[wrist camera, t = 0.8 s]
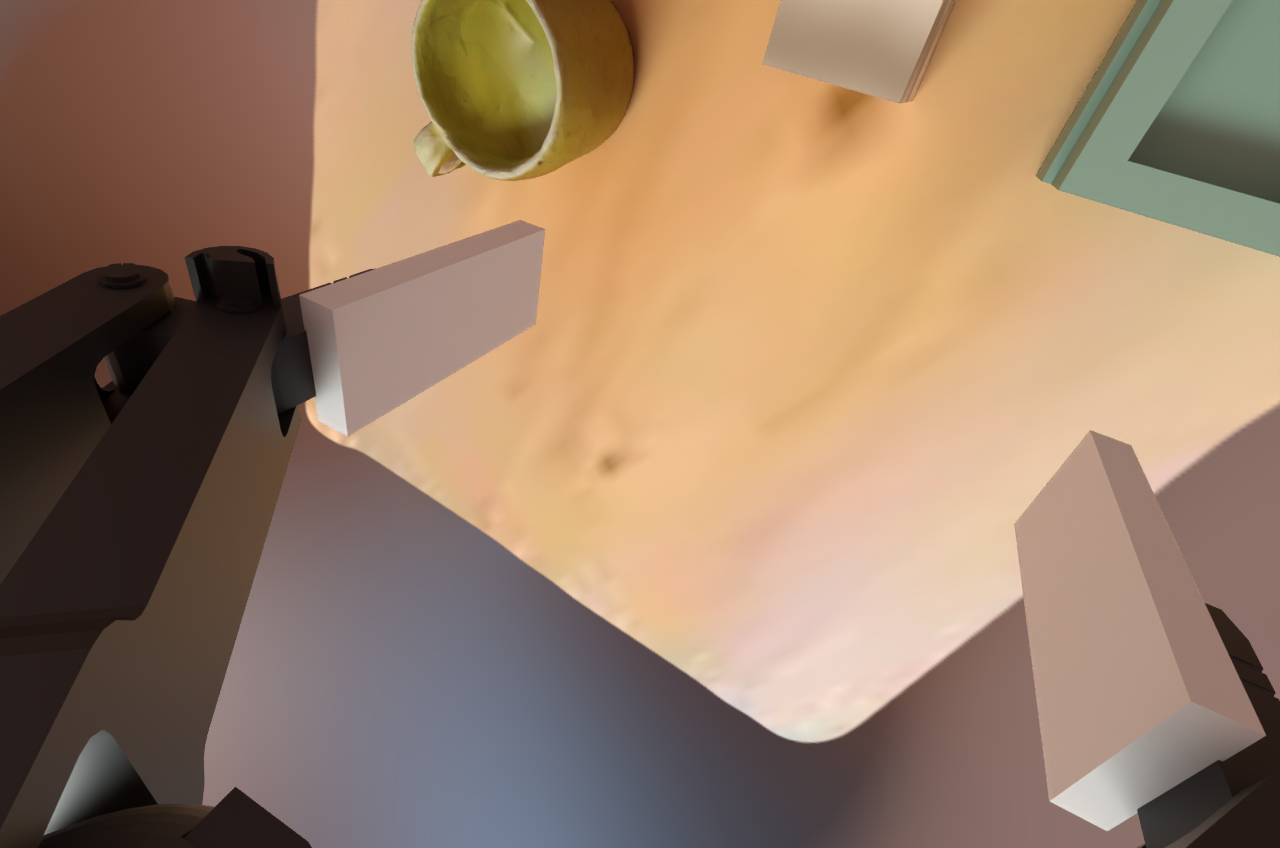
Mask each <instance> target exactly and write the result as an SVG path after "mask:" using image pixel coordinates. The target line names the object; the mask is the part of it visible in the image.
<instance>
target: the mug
mask: <svg viewBox="0 0 1280 848" xmlns="http://www.w3.org/2000/svg"><path fill="white" fill-rule="evenodd" d="M412 64H413V70H414V75H415V81H416V84H417V88H418V90H419V94H420V98H421V100H422V101H423V103H424V105H425V108H426V110H427V112H428V115H429V117H430V119H431V120H432V121H431V122H430V123H429V124H428V125H427V126H425V127H424V128H423V129H422V130H421V131H420V132H419V134H418V135H417V137H416V138H415V140H414V146H415V151H416V154H417V155H418V157H419V159H420V160H421V162H422V163H423V165H424V167H425V169H426V171H427V173H428V174H429V175H430V176H431V177H435V176H440V175H444V174H446V173H450V172H451V171H453V170H455V169H457V168H461V167H462V166H464V165H468V166H469V167H470V168H472V169H473V170H475V171H476V172H478V173H480V174H482V175H484V176H486V177H489V178H492V179H497V180H506V181H518V180H524V179H531V178H536V177H539V176H542V175H546V174H548V173H550V172H553V171H555V170H556V169H558V168H560V167H562V166H563V165H565V164H567V163H569V162H571V161H573V160H575V159H577V158H579V157H581V156H583V155H585V154H587V153H589V152H591V151H593V150H594V149H596V148H597V147H598V146H600V145H601V144H602V143H603V142H604V141H605V140H607V139H608V138H609V137H610V136H611V135H612V134H613V133H614V132H615V130H616V129H617V128H618V126H619V125H620V123H621V122H622V120H623V117H624V115H625V113H626V110H627V108H628V105H629V103H630V99H631V93H632V87H633V70H634V66H633V51H632V46H631V42H630V38H629V35H628V31H627V29H626V27H625V25H624V23H623V21H622V18H621V16H620V14H619V12H618V11H617V9H616V8H615V6H614V5H613V3H612V2H611V1H610V0H421V3H420V5H419V8H418V11H417V15H416V18H415V21H414V25H413V31H412Z"/></svg>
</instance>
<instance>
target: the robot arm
mask: <svg viewBox="0 0 1280 848" xmlns="http://www.w3.org/2000/svg"><path fill="white" fill-rule="evenodd" d="M544 235H545V229H543V228H540V227H538V226H535V225H532V224H530V223H527V222H524V221H521V220H519V221H516V222H513V223H510V224H507V225H504V226H501V227H498V228H495V229H493V230H490V231H487V232H484V233H481V234H478V235H475V236H472V237H469V238H466V239H463V240H460V241H457V242H454V243H451V244H448V245H445V246H442V247H439V248H436V249H433V250H430V251H427V252H425V253H422V254H419V255H416V256H413V257H410V258H407V259H404V260H401V261H398V262H395V263H392V264H389V265H386V266H383V267H380V268H377V269H369V270H366V271H363V272H360V273H357V274H354V275H351V276H350V277H349V278H346V277H345V278H342V279H339V280H336V281H334V283H333V284H331V283H328V284H325V285H322V286H319V287H316V288H313V289H310V290H307V291H304V292H301V293H298V294H295V295H292V296H289V297H286V298H283V299H281V298H280V292H279V286H278V281H277V275H276V269H275V264H274V258H273V257H272V256H270V255H269V254H268V253H266V252H263V251H261V250H258V249H254V248H247V247H241V246H218V247H210V248H204V249H201V250H198V251H195V252H192V253H190V254H189V255H187V256H186V257H185V261H186V264H187V268H188V271H189V276H190V279H191V283H192V287H193V291H194V294H195V298H196V301H192V300H187V299H183V298H178V297H174V295H173V291H172V288H171V284H170V281H169V277H168V275H167V274H166V273H165V272H163V271H162V270H160V269H157V268H153V267H150V266H143V265H135V264H132V263H123V265H121V263H119V264H111V265H109V266H106V267H101V268H96V269H93V270H90V271H88V272H85V273H82V274H80V275H78V276H76V277H75V278H73V279H71V280H69V281H67V282H65V283H63V284H61V285H59V286H57V287H56V288H53V289H51V290H49V291H48V292H46V293H44V294H42V295H40V296H38V297H36V298H34V299H32V300H30V301H28V302H26V303H25V304H22V305H21V306H19V307H17V308H15V309H13V310H11V311H9V312H7V313H5V314H3V315H1V316H0V848H312V847H311V846H310V844H309V843H308V841H306V840H305V839H304V838H302V837H301V836H300V835H299V834H297V833H296V832H295V831H293V830H292V829H291V828H289V827H288V826H286V825H285V824H284V823H283V822H281V821H280V820H279V819H277V818H276V817H275V816H273V815H272V814H271V813H269V812H268V811H267V810H265V809H264V808H263V807H261V806H260V805H259V804H257V803H256V802H255V801H253V800H252V799H251V798H250V797H248V796H247V795H246V794H244V793H243V792H242V791H240V790H239V789H238V788H236V787H235V788H234V789H233V790H232V791H231V792H230V793H229V794H228V795H227V796H226V797H225V798H224V799H223V800H222V801H221V802H220V803H219V804H218V805H217V806H216V807H212V806H204V805H202V801H203V791H204V750H205V743H206V739H207V734H208V731H209V727H210V724H211V721H212V717H213V714H214V711H215V707H216V704H217V700H218V697H219V694H220V690H221V687H222V683H223V680H224V677H225V673H226V670H227V667H228V664H229V660H230V657H231V654H232V650H233V647H234V643H235V640H236V637H237V634H238V630H239V627H240V623H241V620H242V617H243V613H244V610H245V607H246V603H247V600H248V597H249V593H250V590H251V586H252V583H253V580H254V577H255V573H256V570H257V566H258V563H259V560H260V556H261V553H262V550H263V546H264V543H265V539H266V536H267V533H268V530H269V526H270V523H271V519H272V516H273V513H274V510H275V506H276V503H277V499H278V496H279V493H280V489H281V486H282V483H283V479H284V476H285V473H286V469H287V466H288V463H289V459H290V456H291V453H292V449H293V446H294V442H295V439H296V436H297V432H298V429H299V426H300V422H301V413H300V407H299V404H301V403H303V402H305V401H307V400H309V399H311V398H313V397H315V401H316V407H317V414H318V420H319V422H321V423H323V424H325V425H327V426H329V427H331V428H333V429H335V430H336V431H338V432H340V433H342V434H344V435H346V436H349V435H351V434H353V433H354V432H356V431H358V430H359V429H361V428H363V427H364V426H366V425H368V424H370V423H371V422H373V421H375V420H376V419H378V418H380V417H381V416H383V415H385V414H386V413H388V412H390V411H391V410H393V409H395V408H396V407H398V406H400V405H401V404H403V403H405V402H406V401H408V400H410V399H411V398H413V397H415V396H416V395H418V394H420V393H421V392H423V391H425V390H426V389H428V388H430V387H431V386H433V385H435V384H436V383H438V382H440V381H441V380H443V379H445V378H446V377H448V376H450V375H452V374H453V373H455V372H457V371H458V370H460V369H462V368H463V367H465V366H467V365H468V364H470V363H472V362H473V361H475V360H477V359H478V358H480V357H482V356H483V355H485V354H487V353H488V352H490V351H492V350H493V349H495V348H497V347H498V346H500V345H502V344H503V343H505V342H507V341H508V340H510V339H512V338H513V337H515V336H517V335H518V334H520V333H522V332H523V331H525V330H527V329H529V328H530V327H532V326H534V325H535V324H536V314H537V305H538V295H539V285H540V275H541V265H542V255H543V245H544ZM103 358H104V360H105V363H106V365H107V368H108V370H109V373H110V376H111V378H112V381H111V382H110V383H109V384H107V385H106V386H105V387H103V388H100V386H99V385H98V384H97V382H96V379H95V377H94V374H95V371H96V367H97V365H98V364H99V362H100V361H101V360H102V359H103ZM1014 525H1015V533H1016V541H1017V548H1018V556H1019V564H1020V572H1021V580H1022V588H1023V596H1024V604H1025V612H1026V619H1027V628H1028V635H1029V643H1030V651H1031V659H1032V667H1033V675H1034V683H1035V690H1036V698H1037V706H1038V715H1039V723H1040V730H1041V737H1042V745H1043V754H1044V762H1045V770H1046V777H1047V785H1048V793H1049V801H1050V802H1052V803H1054V804H1056V805H1058V806H1060V807H1061V808H1064V809H1065V810H1067V811H1069V812H1071V813H1073V814H1075V815H1077V816H1079V817H1081V818H1083V819H1085V820H1087V821H1089V822H1090V823H1092V824H1094V825H1096V826H1098V827H1100V828H1102V829H1104V830H1106V831H1108V830H1110V829H1112V828H1113V827H1115V826H1117V825H1118V824H1120V823H1122V822H1123V821H1125V820H1127V819H1128V818H1130V817H1132V816H1133V815H1135V814H1137V813H1138V815H1139V820H1140V823H1141V828H1142V831H1143V836H1144V840H1145V843H1144V844H1142V845H1140V846H1139V847H1137V848H1280V701H1279V699H1277V698H1275V697H1274V694H1275V691H1274V689H1273V687H1272V685H1271V683H1270V681H1269V679H1268V677H1267V675H1266V674H1263V673H1262V670H1263V667H1262V666H1261V664H1260V662H1259V660H1258V658H1257V656H1256V654H1255V652H1254V650H1253V648H1252V646H1251V644H1250V642H1249V640H1248V639H1247V638H1246V637H1245V636H1244V635H1243V634H1242V632H1241V631H1240V630H1239V629H1238V628H1237V627H1236V626H1235V625H1234V623H1233V622H1232V621H1231V620H1230V619H1229V618H1228V617H1227V616H1226V614H1225V613H1224V612H1223V611H1222V610H1221V609H1218V608H1216V607H1213V606H1211V605H1209V604H1206V603H1204V601H1203V599H1202V596H1201V595H1200V592H1199V590H1198V588H1197V586H1196V584H1195V582H1194V579H1193V577H1192V575H1191V573H1190V571H1189V569H1188V566H1187V565H1186V562H1185V560H1184V558H1183V556H1182V554H1181V551H1180V549H1179V548H1178V545H1177V543H1176V541H1175V539H1174V536H1173V534H1172V532H1171V530H1170V528H1169V526H1168V523H1167V521H1166V519H1165V517H1164V515H1163V513H1162V511H1161V508H1160V506H1159V504H1158V502H1157V500H1156V498H1155V496H1154V493H1153V491H1152V489H1151V487H1150V485H1149V483H1148V481H1147V478H1146V476H1145V474H1144V472H1143V470H1142V468H1141V466H1140V463H1139V461H1138V459H1137V457H1136V455H1135V453H1134V451H1133V448H1132V446H1131V445H1129V444H1126V443H1123V442H1121V441H1118V440H1115V439H1113V438H1110V437H1107V436H1104V435H1102V434H1099V433H1096V432H1094V431H1091V430H1090V431H1089V432H1088V434H1087V435H1086V436H1085V437H1084V439H1083V440H1082V441H1081V442H1080V444H1079V445H1078V446H1077V447H1076V448H1075V450H1074V451H1073V452H1072V453H1071V455H1070V456H1069V457H1068V458H1067V460H1066V461H1065V462H1064V463H1063V465H1062V466H1061V467H1060V468H1059V470H1058V471H1057V472H1056V473H1055V474H1054V476H1053V477H1052V478H1051V479H1050V481H1049V482H1048V483H1047V484H1046V486H1045V487H1044V488H1043V489H1042V491H1041V492H1040V493H1039V494H1038V496H1037V497H1036V498H1035V499H1034V500H1033V502H1032V503H1031V504H1030V505H1029V507H1028V508H1027V509H1026V510H1025V512H1024V513H1023V514H1022V515H1021V517H1020V518H1019V519H1018V520H1017V522H1016V523H1015V524H1014Z"/></svg>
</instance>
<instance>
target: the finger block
mask: <svg viewBox="0 0 1280 848" xmlns="http://www.w3.org/2000/svg"><path fill="white" fill-rule="evenodd" d="M955 2H956V0H781V2H780V6H779V9H778V12H777V16H776V19H775V23H774V26H773V29H772V33H771V36H770V39H769V43H768V46H767V50H766V53H765V56H764V60H763V63H762V64H763V65H767V66H770V67H774V68H777V69H781V70H784V71H788V72H791V73H795V74H798V75H802V76H805V77H809V78H812V79H816V80H819V81H823V82H826V83H830V84H833V85H837V86H840V87H844V88H847V89H851V90H854V91H858V92H861V93H865V94H868V95H872V96H875V97H879V98H882V99H886V100H889V101H893V102H896V103H904V102H909V101H913V99H914V96H915V94H916V92H917V89H918V87H919V85H920V83H921V80H922V78H923V76H924V73H925V71H926V69H927V66H928V64H929V62H930V60H931V57H932V55H933V53H934V50H935V48H936V46H937V43H938V41H939V39H940V37H941V34H942V32H943V30H944V27H945V25H946V23H947V20H948V18H949V16H950V14H951V11H952V9H953V7H954V4H955Z"/></svg>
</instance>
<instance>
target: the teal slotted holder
mask: <svg viewBox="0 0 1280 848" xmlns="http://www.w3.org/2000/svg"><path fill="white" fill-rule="evenodd" d="M1036 177H1038V178H1039V179H1040V180H1041V181H1043V182H1046V183H1049V184H1052V185H1053V186H1054V187H1055V188H1056V189H1058V190H1060V191H1063V192H1066V193H1070V194H1073V195H1076V196H1080V197H1083V198H1086V199H1090V200H1093V201H1096V202H1100V203H1103V204H1106V205H1110V206H1113V207H1116V208H1120V209H1123V210H1126V211H1130V212H1133V213H1136V214H1140V215H1143V216H1146V217H1150V218H1153V219H1156V220H1160V221H1163V222H1166V223H1169V224H1173V225H1176V226H1179V227H1183V228H1186V229H1189V230H1193V231H1196V232H1199V233H1203V234H1206V235H1209V236H1213V237H1216V238H1219V239H1223V240H1226V241H1229V242H1233V243H1236V244H1239V245H1243V246H1246V247H1249V248H1253V249H1256V250H1259V251H1263V252H1266V253H1269V254H1272V255H1276V256H1279V257H1280V0H1138V1H1137V3H1136V4H1135V6H1134V8H1133V10H1132V11H1131V13H1130V15H1129V16H1128V18H1127V20H1126V22H1125V23H1124V25H1123V27H1122V29H1121V30H1120V32H1119V34H1118V35H1117V37H1116V39H1115V41H1114V42H1113V44H1112V46H1111V48H1110V49H1109V51H1108V53H1107V54H1106V56H1105V58H1104V60H1103V61H1102V63H1101V65H1100V67H1099V68H1098V70H1097V72H1096V73H1095V75H1094V77H1093V79H1092V80H1091V82H1090V84H1089V86H1088V87H1087V89H1086V91H1085V92H1084V94H1083V96H1082V98H1081V99H1080V101H1079V103H1078V105H1077V106H1076V108H1075V110H1074V111H1073V113H1072V115H1071V117H1070V118H1069V120H1068V122H1067V124H1066V125H1065V127H1064V129H1063V130H1062V132H1061V134H1060V136H1059V137H1058V139H1057V141H1056V142H1055V144H1054V146H1053V148H1052V149H1051V151H1050V153H1049V155H1048V156H1047V158H1046V160H1045V161H1044V163H1043V165H1042V167H1041V168H1040V170H1039V172H1038V174H1037V175H1036Z"/></svg>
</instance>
